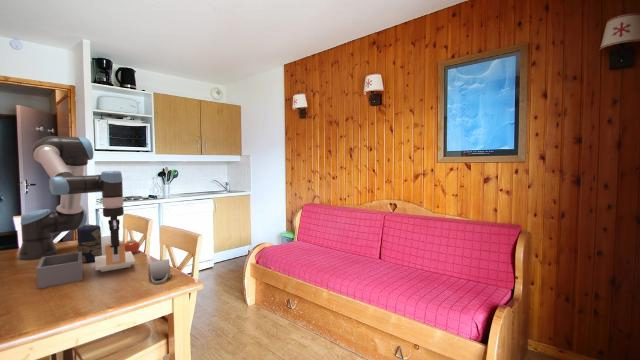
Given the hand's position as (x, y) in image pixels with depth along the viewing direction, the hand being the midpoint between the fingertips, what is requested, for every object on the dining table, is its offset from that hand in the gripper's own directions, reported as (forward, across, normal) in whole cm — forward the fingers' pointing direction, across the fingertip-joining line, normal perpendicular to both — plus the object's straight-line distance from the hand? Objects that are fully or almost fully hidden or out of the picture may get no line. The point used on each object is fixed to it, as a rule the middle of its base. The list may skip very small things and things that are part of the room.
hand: (115, 260), depth 141 cm
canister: (+6, -30, -9) cm, 32 cm away
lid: (+4, -8, 0) cm, 9 cm away
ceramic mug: (+6, +19, +14) cm, 25 cm away
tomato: (+6, -32, +9) cm, 34 cm away
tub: (+6, -8, -19) cm, 21 cm away
